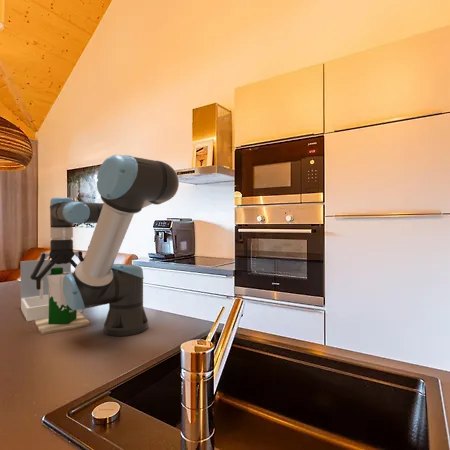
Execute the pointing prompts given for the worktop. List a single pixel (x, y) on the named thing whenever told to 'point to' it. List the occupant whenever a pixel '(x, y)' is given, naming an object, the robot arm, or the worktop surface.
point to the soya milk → (58, 299)
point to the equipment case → (29, 293)
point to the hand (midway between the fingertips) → (62, 295)
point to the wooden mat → (61, 325)
